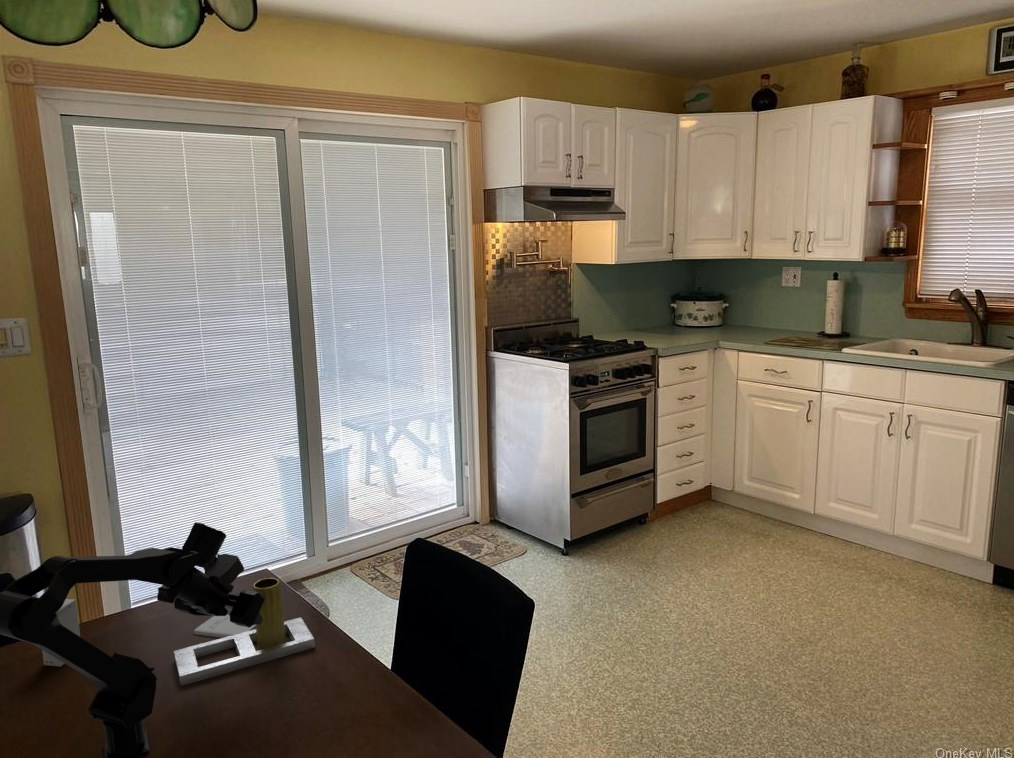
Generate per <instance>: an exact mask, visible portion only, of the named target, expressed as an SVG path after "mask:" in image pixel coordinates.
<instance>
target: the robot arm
mask: <svg viewBox="0 0 1014 758" xmlns="http://www.w3.org/2000/svg"><path fill="white" fill-rule="evenodd" d="M226 538H227V535H226V533H225V532H224V531H222V530H219V529H216V528H214V527H211V526H210V525H209V526H208V525H206V524H205V523H203V522H196V521H195V522H194V523H193V526H192V527H191V529H190V532H189V534H188V536H187V538H186V539H185V541H184V544H183V545H182V547H181V548H178V547H172V546H170V547H166V548H162V549H161V548H155V547H149V548H144V549H140V550H135V551H134V552H132V553H129V554H127V555H99V556H98V555H97V556H95V555H93V556H90V555H89V556H64V555H55V556H54V555H53V556H51V557H49V558H48V559H46V560H45V561H43V562H42V563H41V564H39V566H38V567H36V568H35V569H34V570H31V571H30V572H28V573H26V574H24V575H22V576H21V577H19V578H17V579H15V580H14V581H12V582H11V583H10V584H9V585H7V586H6V587H5V588H4V589H3V590H2V591H1V592H0V635H1V636H4V637H5V636H6V637H9V638H12V639H16V640H19V641H22V642H25V643H29V644H31V645H33V646H35V647H36V648H39V649H40V650H41V651H42V650H43V651H45V652H46V653H48V654H50V655H51V656H53V657H55V658H56V659H58V660H60V661H61V662H63V663H65V664H64V665H66V666H69V667H70V668H71V669H73V670H76V672H78V673H80V674H81V675H83V676H85V677H86V678H88V679H90V680H91V681H92V683H93V687H94V689H95V690H96V691H97V692H96V694H95V696H94V698H93V700H92V701H91V704H90V705H89V707H88V709H87V711H88V713H89V714H90V716H91V718H92V719H98V720H100V721H102V723H103V731H104V738H105V742H103V743H104V744H103V745H104V746H103V747H104V750H103V752H104V758H138V757H141V756H144V755H146V754H148V753H149V752H150V746H149V739H148V738H149V737H148V732H147V729H144V727H145V726H144V721H143V720H145V719H146V718H147V717H149V716H150V715H152V713H153V708H154V702H155V701H154V700H155V696H156V691H157V681H158V677H157V675H156V674H155V673H154V671H155V667H152V666H149V665H146V663H145V662H144V661H143V660H141V659H140V658H138V657H134V656H130V655H126V654H123V653H118V652H114V653H113V655H112V656H111V655H109V654H107V653H106V652H104V651H102V649H100V648H98V647H97V646H95V645H94V644H92V643H90V642H89V641H87V640H86V639H84V638H83V637H81V635H80V636H78V635H76V634H75V633H73V632H72V631H70V630H69V629H67V628H66V627H64V626H63V625H62V624H61V623H60V622H59V619H58V616H57V614H56V612H57V611H58V610H59V609H60V608H61V607H62V606H63V604H64V602H65V599H67V598H68V595H69V593H70V590H71V589H72V588H73V587H75V585H77V584H90V583H107V582H109V583H110V582H122V581H123V582H124V581H140V582H145V583H151V584H157V585H161V586H159V587H157V590H158V593H157V595H156V599H157V601H158V602H163V603H168V604H174V605H173V606H174V609H176V610H177V611H179V612H181V613H185V614H189V615H194V616H207V617H208V616H209V617H213V616H226V615H228V613H229V610H228V609H227V608H230V609H231V611H230V613H229V615H230V621H231V622H232V623H234V624H236V625H239V626H244V627H248V628H250V627H251V626H253V625H257V624H261V623H262V621H263V618H262V616H261V614H260V612H259V611H260V609H261V607H262V605H263V603H264V600H265V597H264V596H263V595H262V594H260V593H259V592H255V591H253V590H249V589H244V590H242V591H240V592H239V594H238V595H236V594H231V593H233V590H234V587H235V586H234V585H233V584H232V583H233V582H235V580H236V579H238V577H239V576H240V574H243V572H244V570H245V567H244V564H243V563H242V561H241V559H240V558H239V556H238V555H234V554H229V553H223V554H219V552H220V549H221V548H222V547H223V546H222V545H223V544H224V542H225V540H226ZM197 567H199V568H203V570H204V572H203V571H201V570H199V568H197ZM44 590H46V591H44ZM42 591H44V593H42V594H41V595H40V596H39V597H35V595H36V594H38V593H40V592H42Z"/></svg>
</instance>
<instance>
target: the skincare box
mask: <svg viewBox="0 0 1014 758" xmlns="http://www.w3.org/2000/svg"><path fill="white" fill-rule="evenodd" d="M56 614H57V616H58V619H59V622H60V623H61V624H62V625H63V626H64V627H66V628H67V629H69V630H70V631H72V632H73V633H75V634H76V635H78V636H80V637H81V632H80V623H79V622H80V621H79V615H78V605H77V600H76V599H75V598H74V599H72V598H66V599H65V602H64V604H63V606H62V607H61V608H60V609H59V610H58V611H57V612H56ZM41 652H42V659H43V665H44V666H51V667H52V666H53V667H62V666H63V665H66V664H65V663H63V662H61V661H60V660H58V659H56V658H55V657H53V656H51V655H50V654H48V653H46V652H45V651H43V650H41Z"/></svg>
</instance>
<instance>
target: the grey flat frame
mask: <svg viewBox="0 0 1014 758" xmlns="http://www.w3.org/2000/svg"><path fill="white" fill-rule="evenodd" d="M284 626H285V633H286V634H288V637H289V638H290V640H291V641H287V643H284V644H280V645H277V646H273V647H269V648H266V649H262V650H259V651H258V650H256V648H255V646H254V644H253V643H254V642H257V633H256V629H255V630H251V631H247V632H243V633H239V634H236V635H232V636H228V637H224V638H218V639H213V640H210V641H207V642H206V641H205V642H202V643H198V644H195V645H194V644H193V645H191V646H188V647H183V648H180V649H175V650H174V651H173V654H174V661H175V666H176V670H177V675H178V680H179V683H180V687H181V686H186V685H189V684H194V683H196V682H199V681H203V680H204V681H205V680H207V679H210V678H214V677H217V676H221V675H224V674H229V673H231V672H235V671H238V670H241V669H244V668H249V667H251V666H255V665H259V664H261V663H265V662H269V661H272V660H276V659H280V658H283V657H285V656H286V657H287V656H289V655H293V654H296V653H301V652H304V651H306V650H311V649H314V648H315V647H316V645H315V637H314V636H313V634H312V633H311V632H310V629H309V628H308V627H307V624H306V623H305V622H304V619H302V617H301V616H300V617H297V618H293V619H290V620H289V619H288V620H285V621H284ZM232 648H235V651H236V654H237V656H234V657H231V658H227V659H224V660H219V661H216V662H212V663H209V664H206V665H202V666H198V661H197V658H200V657H204V656H206V655H207V656H208V655H211V654H215V653H218V652H223V651H226V650H229V649H232Z"/></svg>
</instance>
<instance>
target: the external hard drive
mask: <svg viewBox="0 0 1014 758" xmlns="http://www.w3.org/2000/svg"><path fill="white" fill-rule="evenodd" d="M255 629H256V625H253V626H251V627H250V628H248V627H244V626H239V625H236V624H234V623H232V622H231V621H230V614H227V615H226V616H210V618H208V619H207V620H206V621H205V622H203V623H202V624H200V625H199V626H198V627H196V628H195V629H194V630H193V634H194V635H197V636H198V635H200V636H206V637H212V638H213V637H214V638H218V639H221V638H224V637H228V636H232V635H236V634H239V633H243V632H247V631H251V630H255Z"/></svg>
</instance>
